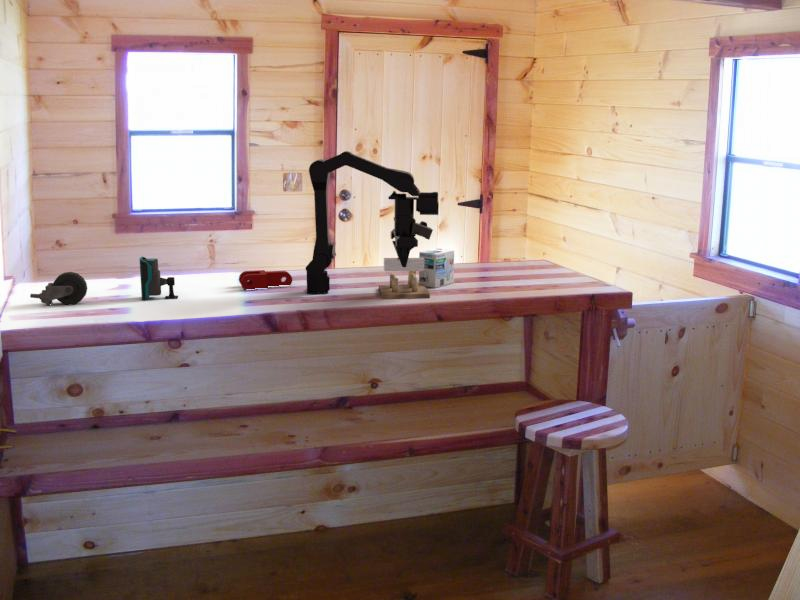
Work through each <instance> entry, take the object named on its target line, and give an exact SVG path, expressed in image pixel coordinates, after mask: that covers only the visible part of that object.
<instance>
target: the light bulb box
mask: <svg viewBox="0 0 800 600" xmlns="http://www.w3.org/2000/svg"><path fill="white" fill-rule="evenodd" d="M418 253H419V255H418V256H419V257H418V258H424V259H425V265H424V271H418V285H424V286H425V287H426V288H427V287H429V288H432V289H433V288H435V289H436V288H440V287H443V286H448V285H451V284H452V285H453V284H454V283H455V281H454V280H455V279H454V276H455V275H454V274H455V273H454V271H455V268H454V267H455V250H451V249H443V248H439V247H437V248H435V249H428V250H424V251H419V252H418Z"/></svg>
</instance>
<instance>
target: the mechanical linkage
mask: <svg viewBox="0 0 800 600" xmlns="http://www.w3.org/2000/svg"><path fill="white" fill-rule="evenodd" d="M283 278H285V280H284V281H282V279H283ZM238 281H239V282H238V283H239V284H240V286H241V287H242V289H243V290H245V291H246V289H255V288H268V286H279V285H290V286H291V285H292V283H293V276H292V275H291V273H290V272H288V271H287V270H269V271H266V270H264V269H261V270H260V269H259V270H243V272H241V273H240V274H239V276H238ZM268 289H269V288H268Z"/></svg>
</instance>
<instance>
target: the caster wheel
mask: <svg viewBox="0 0 800 600" xmlns="http://www.w3.org/2000/svg"><path fill="white" fill-rule="evenodd" d="M44 288H45V289H42V290H41V292H39V293H30V298H33V299H39V300H40V302H41V303H42V304H45V306H46V307H50V306H51V305H52V304H53V301H54V300H57V301H58V302H60V303H61V304H64V305H67V304H72V305H76V304H78V303H80V302H82V301H83V299H84V298H85V296H87V291H88V284H87V281H86V280H85V278H84V276H82V275H80V274H79V273H77V272H73V271H67V272H63V273H61V274H60V275H58V276H57V277H56V278H55V279H54V281H53V282H48V284H47V285H45V287H44ZM51 303H52V304H51ZM50 304H51V305H50Z"/></svg>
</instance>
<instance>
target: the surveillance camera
mask: <svg viewBox="0 0 800 600" xmlns="http://www.w3.org/2000/svg"><path fill="white" fill-rule="evenodd" d="M139 272H140V274H139V275H140V290H141V291H140V292H141V301H146V300H147V299H150V297H152V296H153V297H155V296H161V294H162V286H166V285H167V286H168V288H169V289H168V290H169V293H168V295H165V296H164V300H178V298H179V295H175V292H174V286H175V284H176V283H175V282H176V281H175V277H173V276H172V277H171V276H169V277H167V278H164V277H161V271H160V270H159V259H158V258H147V257H145V256H141V257H140V258H139Z"/></svg>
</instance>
